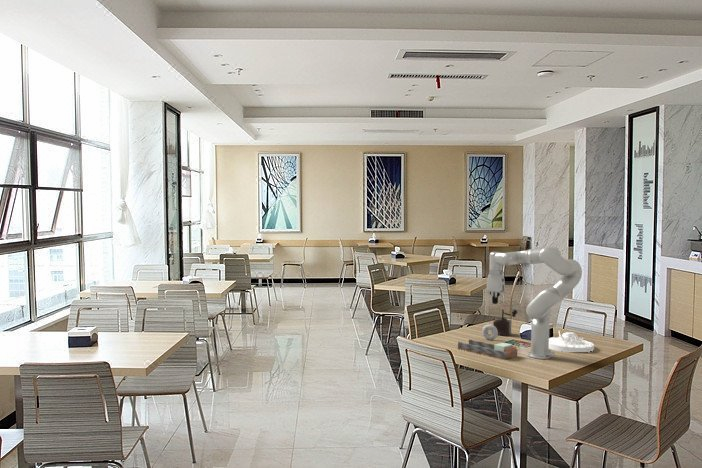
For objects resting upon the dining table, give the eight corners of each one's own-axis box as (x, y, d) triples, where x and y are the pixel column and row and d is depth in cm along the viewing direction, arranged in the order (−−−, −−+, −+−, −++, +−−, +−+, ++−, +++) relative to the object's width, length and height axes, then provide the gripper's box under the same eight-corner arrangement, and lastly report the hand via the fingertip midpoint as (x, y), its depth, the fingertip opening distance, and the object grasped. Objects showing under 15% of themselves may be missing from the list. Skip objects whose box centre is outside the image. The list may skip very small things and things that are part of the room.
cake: (604, 351, 329) (605, 335, 329) (568, 355, 318) (568, 338, 318) (569, 341, 355) (569, 326, 354) (534, 344, 344) (534, 329, 344)
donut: (481, 339, 354) (481, 323, 354) (482, 338, 357) (482, 322, 357) (496, 341, 349) (497, 325, 349) (498, 340, 353) (498, 324, 352)
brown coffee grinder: (492, 335, 368) (493, 308, 368) (495, 331, 378) (496, 305, 377) (516, 337, 361) (517, 310, 361) (519, 334, 371) (520, 307, 370)
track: (517, 356, 312) (517, 346, 312) (505, 359, 304) (505, 350, 304) (469, 345, 336) (470, 336, 335) (457, 348, 328) (458, 339, 327)
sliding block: (512, 353, 313) (512, 344, 312) (503, 355, 307) (503, 346, 306) (502, 351, 317) (503, 342, 317) (494, 353, 311) (494, 344, 311)
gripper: (510, 273, 326) (509, 304, 327) (487, 271, 337) (487, 301, 337) (503, 274, 321) (503, 305, 322) (481, 272, 331) (480, 302, 332)
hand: (494, 303), depth 330 cm, fingers closed
